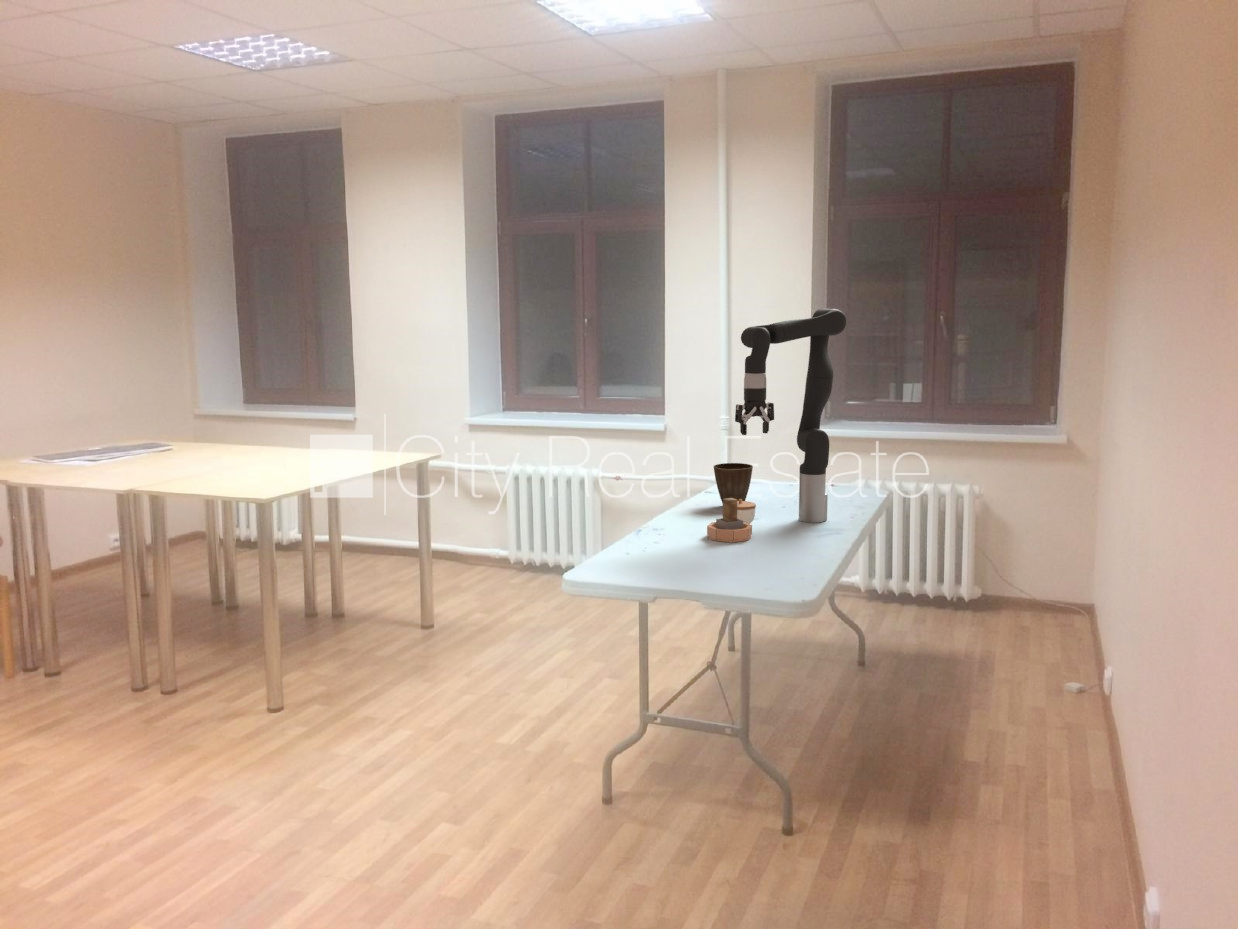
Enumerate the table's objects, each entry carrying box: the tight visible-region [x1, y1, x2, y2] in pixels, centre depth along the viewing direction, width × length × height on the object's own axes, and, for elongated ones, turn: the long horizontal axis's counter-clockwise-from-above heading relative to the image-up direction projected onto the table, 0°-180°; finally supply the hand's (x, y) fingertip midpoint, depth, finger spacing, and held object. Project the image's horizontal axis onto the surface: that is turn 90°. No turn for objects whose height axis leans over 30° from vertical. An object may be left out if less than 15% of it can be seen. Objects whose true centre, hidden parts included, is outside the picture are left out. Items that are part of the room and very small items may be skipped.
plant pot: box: [713, 462, 754, 505], centre depth 373 cm, size 15×15×16 cm
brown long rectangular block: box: [722, 498, 737, 522], centre depth 322 cm, size 4×4×12 cm
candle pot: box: [706, 517, 753, 543], centre depth 323 cm, size 14×14×6 cm
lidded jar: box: [737, 499, 757, 525], centre depth 341 cm, size 11×11×9 cm
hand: (754, 434), depth 331 cm, fingers open, 8 cm apart
